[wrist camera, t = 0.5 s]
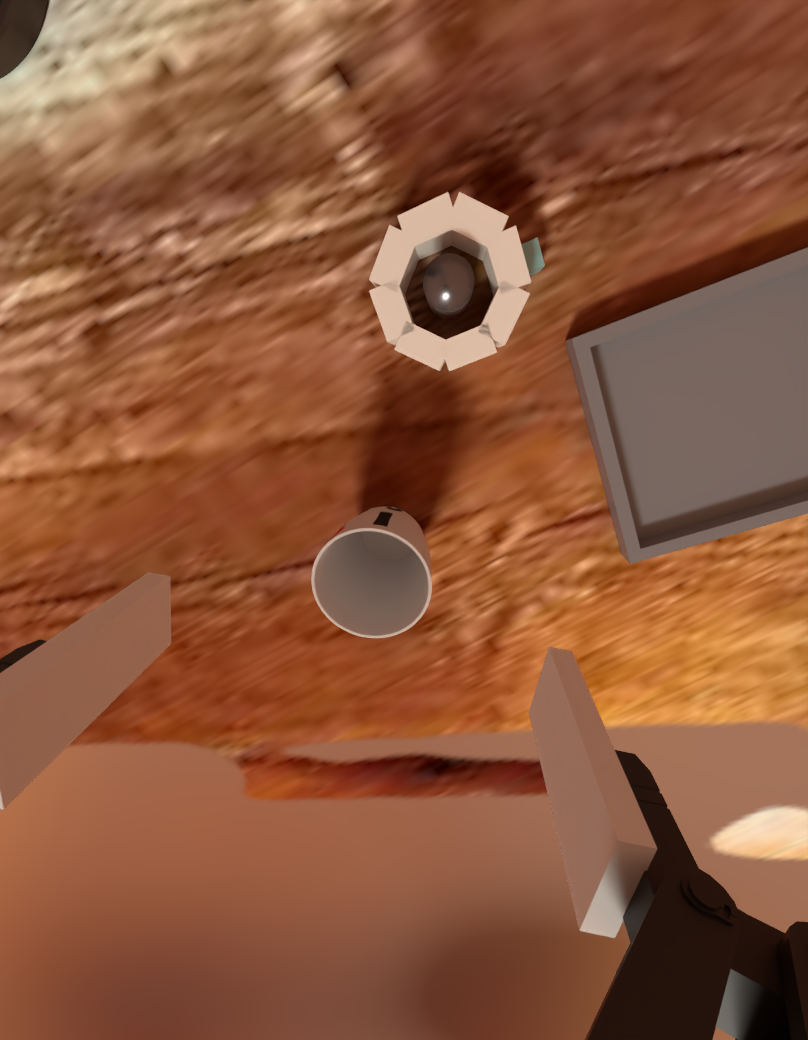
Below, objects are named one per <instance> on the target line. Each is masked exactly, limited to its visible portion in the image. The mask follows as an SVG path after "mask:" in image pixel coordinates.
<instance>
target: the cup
mask: <svg viewBox="0 0 808 1040" xmlns="http://www.w3.org/2000/svg"><path fill="white" fill-rule="evenodd" d="M312 589H313V593H314V597H315V599H316V602H317V604H318V605H319V607H320V609H321V610H322V612H323V613H324V614H325V615H326V617H327V618H328V619H329V620H330V621H332V622H333V623H334V624H335V625H337V626H338V627H340V628H341V629H343V630H345V631H347V632H349V633H351V634H354V635H357V636H361V637H367V638H384V637H390V636H394V635H397V634H399V633H402V632H404V631H406V630H407V629H409V628H410V627H412V626H413V625H414V624H415V623H416V622H417V621H418V620H419V619H420V618H421V617H422V615H423V614H424V612H425V611H426V609H427V607H428V604H429V601H430V598H431V591H432V582H431V562H430V553H429V549H428V546H427V543H426V540H425V537H424V534H423V531H422V529H421V527H420V526H419V524H418V523H417V522H416V520H415V519H414V518H413V517H411V516H410V515H409V514H408V513H406V512H405V511H403V510H401V509H399V508H396V507H384V506H383V507H375V508H371V509H369V510H366V511H364V512H363V513H361V514H360V515H358V516H356V517H355V518H353V519H351V520H350V521H348V522H347V523H346V524H345V525H343V526H342V527H341V529H340V530H339V531H338V532H337V533H336V534H335V535H334V536H333V537H332V538H331V540H330V541H329V542H328V543H327V544H326V545H325V546H324V547H323V548H322V550H321V551H320V552H319V554H318V556H317V558H316V560H315V562H314V565H313V569H312Z"/></svg>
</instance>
